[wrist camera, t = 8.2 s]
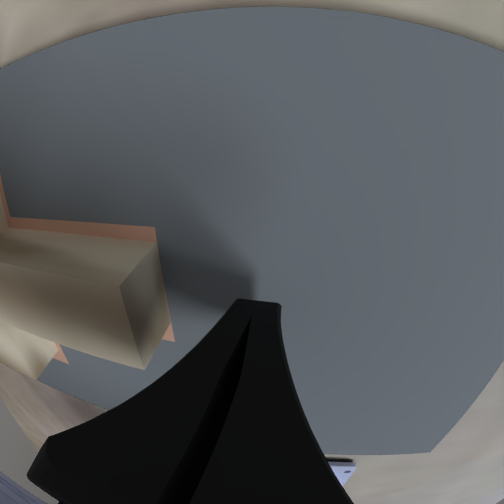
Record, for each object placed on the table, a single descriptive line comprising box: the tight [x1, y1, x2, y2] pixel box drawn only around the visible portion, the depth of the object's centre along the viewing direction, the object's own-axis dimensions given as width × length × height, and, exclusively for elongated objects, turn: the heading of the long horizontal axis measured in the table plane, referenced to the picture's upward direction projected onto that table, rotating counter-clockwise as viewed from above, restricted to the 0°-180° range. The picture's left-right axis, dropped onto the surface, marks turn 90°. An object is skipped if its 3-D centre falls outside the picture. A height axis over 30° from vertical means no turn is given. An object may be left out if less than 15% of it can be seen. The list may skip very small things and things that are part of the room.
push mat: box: [0, 7, 504, 455], centre depth 12 cm, size 20×29×1 cm
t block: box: [0, 195, 171, 380], centre depth 11 cm, size 12×12×2 cm
